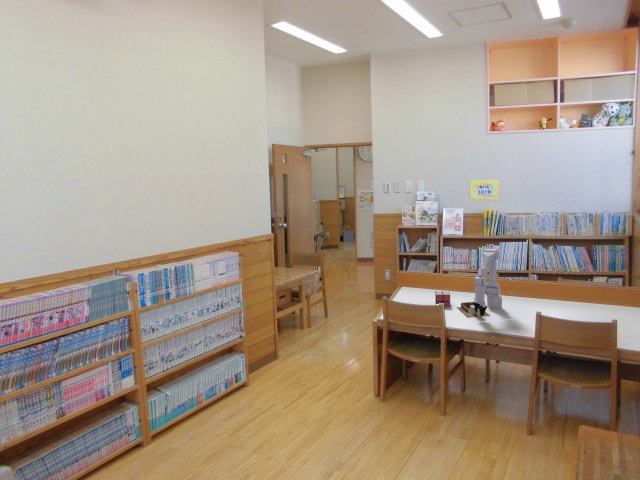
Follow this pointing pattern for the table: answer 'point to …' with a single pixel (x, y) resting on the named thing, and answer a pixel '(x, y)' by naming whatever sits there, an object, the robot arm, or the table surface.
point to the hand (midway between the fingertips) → (479, 314)
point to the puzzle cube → (442, 298)
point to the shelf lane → (468, 310)
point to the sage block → (472, 311)
